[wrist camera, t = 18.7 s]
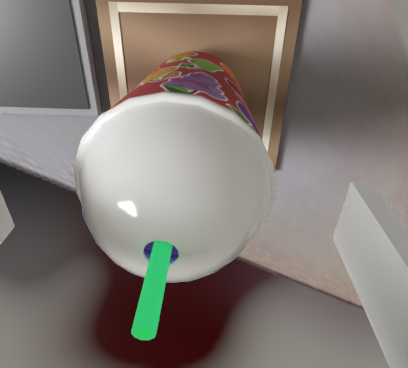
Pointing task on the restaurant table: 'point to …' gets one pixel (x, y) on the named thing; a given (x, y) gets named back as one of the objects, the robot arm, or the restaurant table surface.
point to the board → (206, 47)
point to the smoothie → (175, 178)
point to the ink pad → (47, 59)
